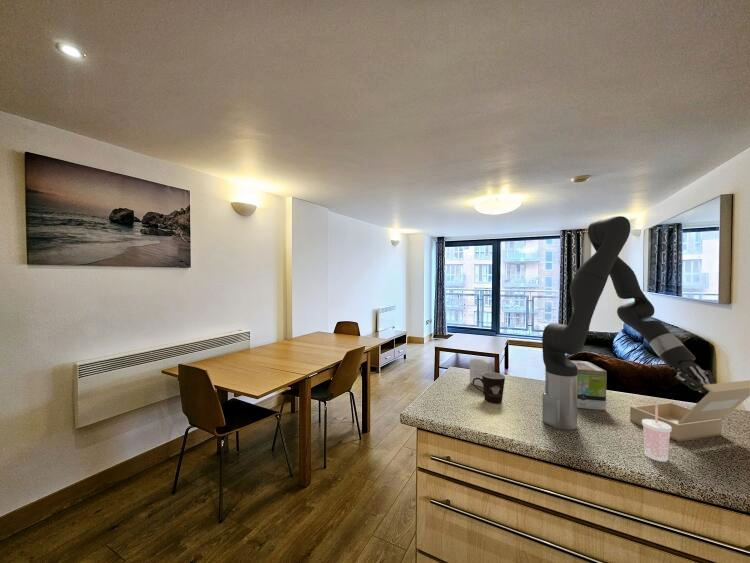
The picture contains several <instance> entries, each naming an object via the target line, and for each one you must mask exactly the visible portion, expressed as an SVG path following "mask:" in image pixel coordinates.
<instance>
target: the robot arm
mask: <svg viewBox="0 0 750 563" xmlns="http://www.w3.org/2000/svg"><path fill="white" fill-rule="evenodd" d="M630 234H631V223H630V220H629V218H627V217H626V216H623V215H622V216H621V215H620V216H619V215H618V216H617V215H616V216H611V217H606V218H602V219H596V220H594V221H592V222H591V223H590V224H589V225H588V228H587V236H588V239H589V241H590V243H591V246H592V247H593V248H594V250H595V252H594V253H593V254H592V256H590V257H589V258H588V259H586V260H585V261H584V263H583V264H581V265H580V266H579V268H577V270H576V272H575V273H574V276H573V279H572V280H571V283H570V286H569V294H570V299H571V302H572V307H573V308H572V309H573V310H572V315H571V317H570V320H569V322H568V324H562V323H555V322H553V323H549V324H547V325H546V326H545V327H544V329H543V331H542V338H541V341H542V342H541V344H542V346H541V347H542V360H543V364H544V366H545V368H544V370H545V371H544V372H545V373H544V375H545V376H544V377H545V378H544V380H545V381H544V383H545V384H544V385H545V386H544V387H545V388H544V393H542V408H541V409H542V411H541V412H542V413H541V414H542V417H541V420H542V422H544V423H545V424H547V425H549V426H550V427H552V428H554V429H555V430H564V431H565V430H566V431H573V430H576V429H577V427H578V407H577V374H578V369H577V366H576V365H575V364H574V363H572V362H571V361H572V360H571V361H570V359H569V357H567V355H570V356H571V355H573V356H574V355H577V354H578V353H580V352H581V350H582V349H583V347H584V345H585V343H586V340H587V336H588V333H589V329H590V326H591V322H592V319H593V315H594V313H595V310H596V308H597V305H598V302H599V301H600V298H601V296H602V294H603V292H604V288H605V287H606V284H607V281H608V279H609V277H610V279H611V282H612V285H613V287H614V290H615V294H616V296H617V297H618V298H619V299H620V300H621V299H622V300H629V299H634V301H630V302H628V303H625V304H622V305H620V306H618V307H617V310H616V313H617V314H616V315H617V317H618V318H619V319H620V320H621V321H622V322H623V323H624V324H625V325H627V326H628V327H629V328H632V329H633V330H634V331H635V332H637V333H638V334H640V335H641V336H642V338H643V339H644V340H645V341H646V342H647V344H649V346H650V347H651V348H652V350H653V352H655V354H656V355H657V356H658V357H659V358H660V359H661V361H662V362H663V363H664V364H665V365H666V366H667V367H668V368H669V369H670V370H674V371H675V373H677V374H676V375H675V376H674V377H673V378H674V379H675V380H677V381H678V382H680V383H682V384H683V385H684V386H687V387H688V388H689V389H691V390H692V391H695V392H696V391H698V392H699V393H702V394H703V395H704V397H705V396H706V395H707V394H708V393H709V392H710V391H708V390H707V389H706V388H705V387H703V386H704V385H708V384H716V382H715V379H714V376H713V373H712V371H710V370H709V369H707V370H704V369H702V367H701V366H700V365H698V364H697V363H696V362H695V360H696V356H695V355H694V354H693V353H692V352H691V351H690V350H689V349H688V347H686V346H685V345H684V344H683V342H681V341H680V340H679V338H677V337H676V336H675V335H674V334H673V333H672V332H671V331H670V330H669V329H668V328H667V327H666V326H665V324H663V323H662V322H661V321H659V320H651V321H644V320H647V319H650V318H652V317H653V316H654V314H655V307H654V305H653V304H652V302H651V301H650V300H649V299H648V298H647V296H646V295H645V294H644V292H643V290H642V289H641V286H640V283H639V280H638V278H637V275H636V273H635V271H634V270H633V269H632V267H630V265H628V264H627V263H626V262H625V261H624V260H623V259H621V258H620V256H619V255H620V253H621V251H622V250H623V248H624V246H625V245H626V242H627V241H628V239H629V237H630Z"/></svg>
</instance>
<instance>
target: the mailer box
mask: <svg viewBox="0 0 750 563" xmlns="http://www.w3.org/2000/svg"><path fill="white" fill-rule="evenodd" d="M655 405H657V406H658V421H661V422H664V423H666V424H668V425H670V426H671V427H672V429H671V430H672V431H671V432H670V439H671V440H673V441H674V442H675V441H676V442H677V443H679V442H686V441H693V440H698V439H704V438H705V439H706V438H713V437H718V436H722V430H723V429H722V425H723V423H722V421H723V418H721V419H714V420H706V421H699V422H692V423H684V424H679V423H678V421H679V420H680V419H681V418H683V417H684V416H685V415H686V414H687V413H688V412H689V411H690V410H691V409H692V408H691V407H690V408H689V407H686V406H684V405H682V404H677V403H674V402H671V401H668V402H667V401H666V402H659V403H650V404H641V405H631V406H630V407H629V408H630V409H629V410H630V411H629V413H630V414H629V421H630V422H631V423H634V424H636V425H638V426H641V427H643V425H642V420H643V419H652V420H655ZM670 439H669V440H670Z"/></svg>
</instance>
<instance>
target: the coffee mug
mask: <svg viewBox="0 0 750 563" xmlns="http://www.w3.org/2000/svg"><path fill="white" fill-rule="evenodd" d="M476 379H479V380H481V382H482V383H483V387H482V388H483V390H482V389H480V388H479V387H478V386H477V385H475V384H474V381H475V380H476ZM505 380H506V376H505V374H503V373H500V372H499V373H498V372H495V371H492V372H485V373H483V374H482V379H480V378H475V379H473V382H472V383H473V384H472V383H471V384H472V385H473V386H474V388H475V389H477V390H478V391H479V392H480V393H482V394H483V396H484V401H485V402H487V403H490V404H496V405H499V404H501V403H502V402H503V396H504V389H505V388H504V387H505Z"/></svg>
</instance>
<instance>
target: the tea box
mask: <svg viewBox="0 0 750 563" xmlns="http://www.w3.org/2000/svg"><path fill="white" fill-rule="evenodd" d="M569 360H570V359H569ZM570 361H571V362H572V363H574V364H575V365H576V366H577V369H578V374H577V409H587V410H588V409H589V410H597V411H598V410H599V411H605V410H606V409H607V378H608V377H607V373H608V372H607V370H605V369H603V368H601V367H599V366H597V365H595V364H594V363H592V362H590V361H583V360H570Z"/></svg>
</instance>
